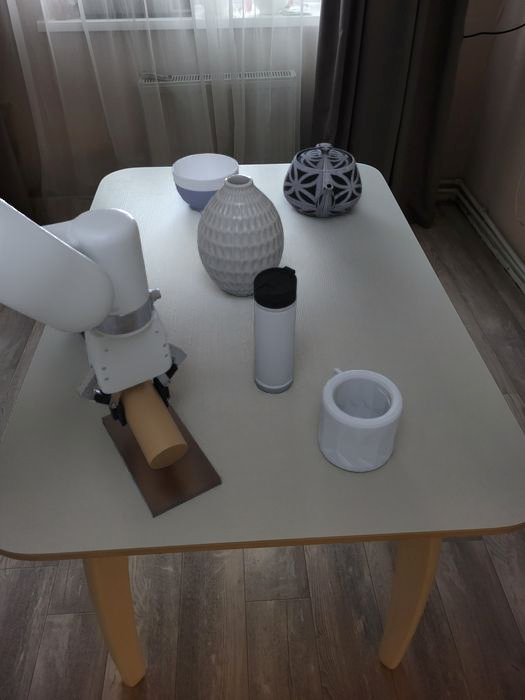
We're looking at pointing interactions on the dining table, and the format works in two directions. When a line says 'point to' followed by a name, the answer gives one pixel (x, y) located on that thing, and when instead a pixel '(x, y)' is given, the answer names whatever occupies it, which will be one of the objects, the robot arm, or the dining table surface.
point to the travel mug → (274, 328)
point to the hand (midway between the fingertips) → (141, 409)
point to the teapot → (323, 181)
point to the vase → (239, 235)
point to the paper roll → (152, 425)
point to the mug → (359, 419)
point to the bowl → (202, 177)
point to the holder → (169, 482)
